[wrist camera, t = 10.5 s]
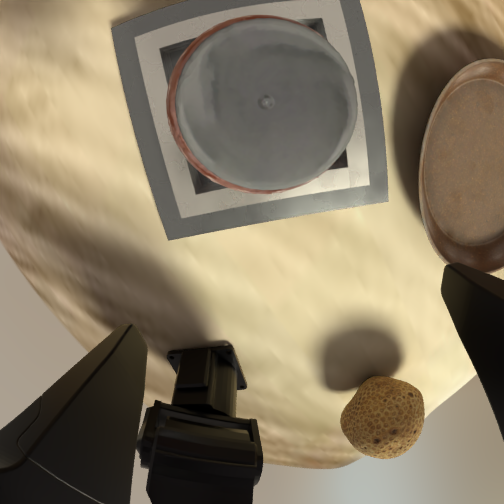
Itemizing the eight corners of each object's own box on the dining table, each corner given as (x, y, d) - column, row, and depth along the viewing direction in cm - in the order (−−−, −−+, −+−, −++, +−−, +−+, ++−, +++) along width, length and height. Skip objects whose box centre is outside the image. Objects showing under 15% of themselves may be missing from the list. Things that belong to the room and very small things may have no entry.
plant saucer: (429, 291, 24) (444, 311, 21) (360, 101, 16) (378, 102, 14) (545, 208, 19) (562, 220, 16) (511, 41, 12) (534, 42, 9)
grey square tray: (382, 196, 19) (400, 212, 17) (171, 234, 21) (160, 255, 18) (349, -14, 12) (364, -29, 9) (117, 30, 13) (96, 22, 11)
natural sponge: (424, 359, 28) (456, 429, 19) (381, 403, 32) (400, 468, 23) (364, 349, 27) (393, 436, 18) (322, 399, 31) (335, 475, 22)
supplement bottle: (227, 166, 17) (192, 266, 7) (188, 77, 15) (90, 50, 5) (321, 133, 16) (419, 190, 6) (287, 41, 14) (342, -42, 4)
